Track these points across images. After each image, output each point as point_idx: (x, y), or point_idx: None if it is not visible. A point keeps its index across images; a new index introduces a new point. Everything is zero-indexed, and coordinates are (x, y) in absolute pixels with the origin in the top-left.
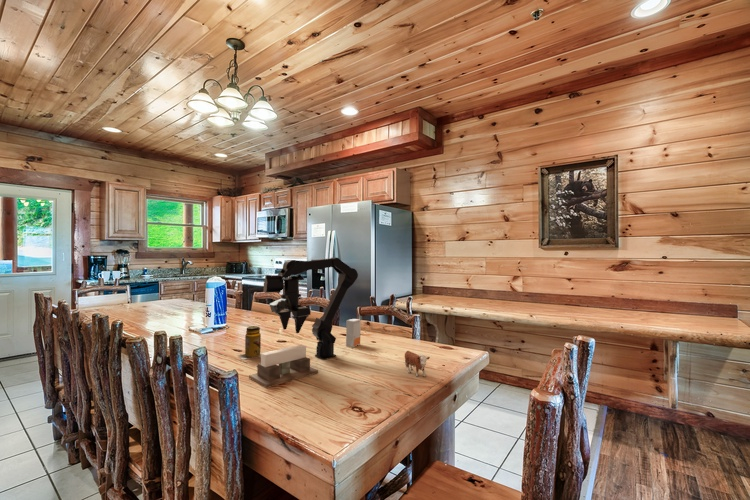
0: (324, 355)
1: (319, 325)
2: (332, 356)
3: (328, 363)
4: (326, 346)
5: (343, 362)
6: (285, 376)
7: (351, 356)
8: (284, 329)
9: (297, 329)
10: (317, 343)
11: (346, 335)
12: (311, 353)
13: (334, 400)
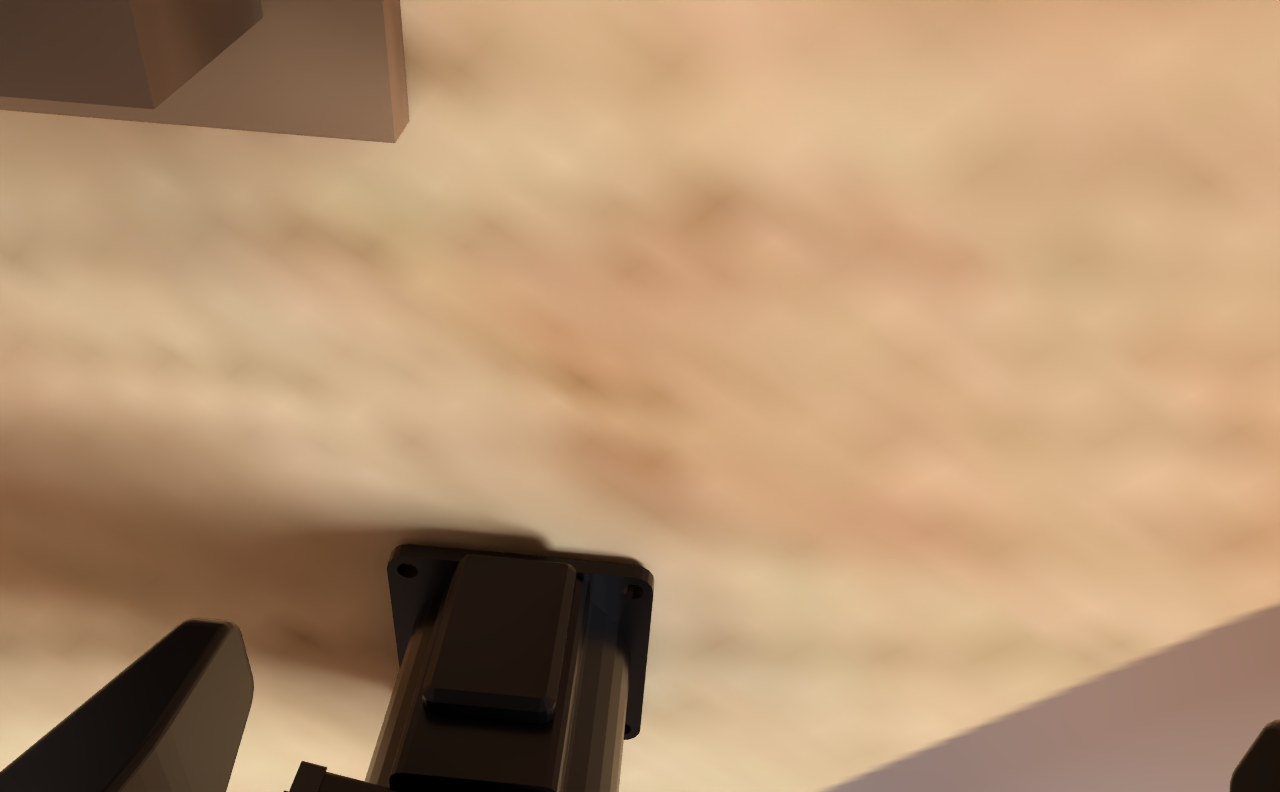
0: (433, 613)
1: None
2: (399, 665)
3: (186, 473)
4: (377, 759)
5: (109, 603)
6: None
7: (291, 779)
8: (1263, 729)
9: (43, 769)
10: (543, 762)
11: None
12: (831, 624)
13: None
